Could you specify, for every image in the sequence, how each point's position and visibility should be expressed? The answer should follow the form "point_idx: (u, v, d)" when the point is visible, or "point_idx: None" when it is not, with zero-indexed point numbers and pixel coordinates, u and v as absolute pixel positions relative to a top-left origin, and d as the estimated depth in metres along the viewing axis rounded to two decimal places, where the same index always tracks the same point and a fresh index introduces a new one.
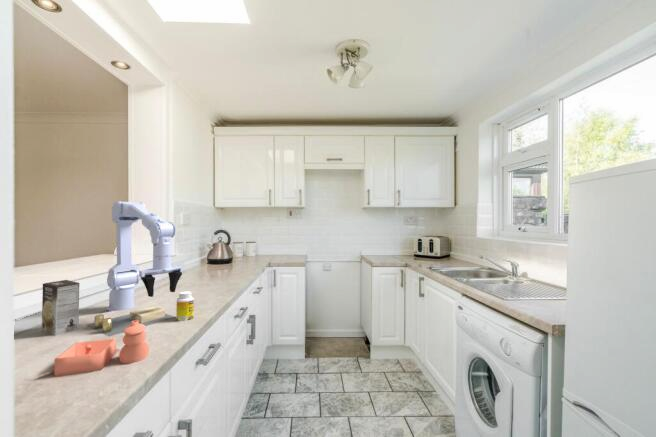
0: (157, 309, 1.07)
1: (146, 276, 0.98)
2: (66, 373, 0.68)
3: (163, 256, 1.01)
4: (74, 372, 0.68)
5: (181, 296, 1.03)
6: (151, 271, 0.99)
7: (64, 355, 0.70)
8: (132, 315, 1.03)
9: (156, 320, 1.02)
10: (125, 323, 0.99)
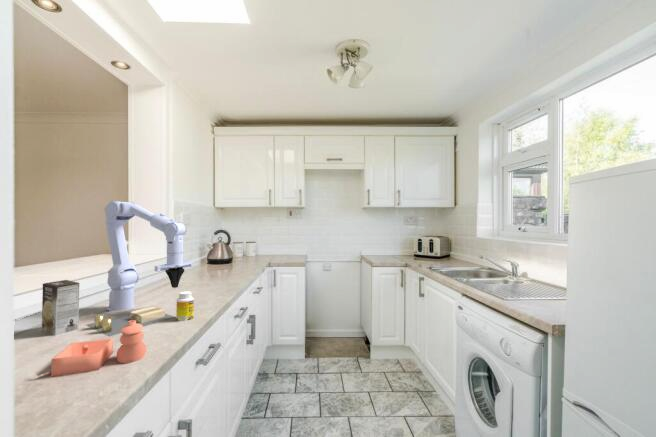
0: (157, 309, 1.07)
1: (170, 269, 1.11)
2: (63, 373, 0.68)
3: (176, 253, 1.12)
4: (71, 372, 0.68)
5: (181, 296, 1.03)
6: (165, 266, 1.09)
7: (61, 355, 0.70)
8: (132, 315, 1.03)
9: (156, 320, 1.02)
10: (125, 323, 0.99)
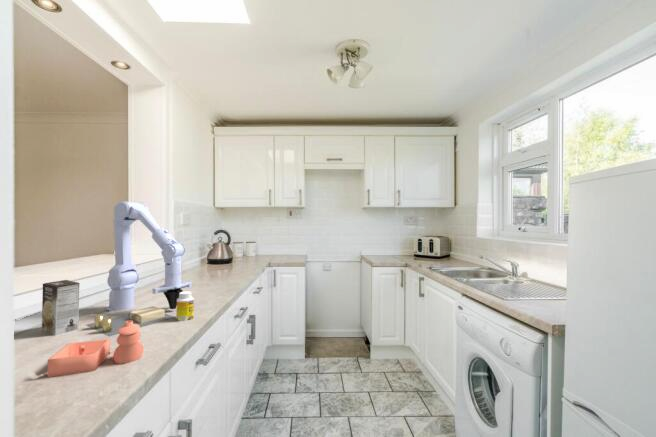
0: (157, 309, 1.07)
1: (168, 291, 1.11)
2: (59, 374, 0.67)
3: (174, 274, 1.11)
4: (67, 373, 0.68)
5: (181, 296, 1.03)
6: (163, 288, 1.09)
7: (57, 356, 0.70)
8: (132, 315, 1.03)
9: (156, 320, 1.02)
10: None
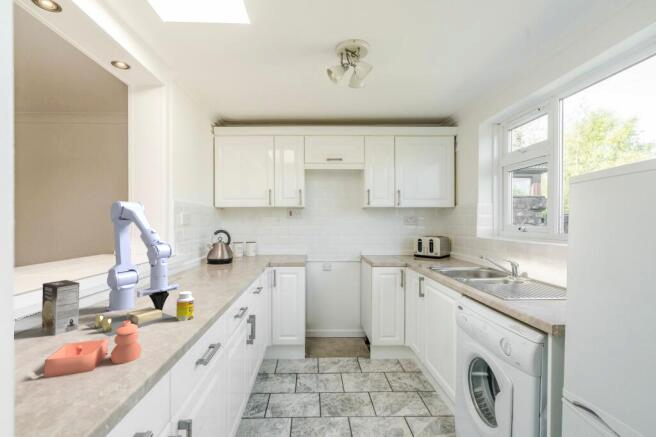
0: (154, 310, 1.06)
1: (154, 294, 1.06)
2: (57, 374, 0.67)
3: (160, 276, 1.06)
4: (65, 373, 0.68)
5: (181, 296, 1.03)
6: (148, 291, 1.04)
7: (54, 356, 0.70)
8: (129, 316, 1.02)
9: (156, 320, 1.02)
10: None
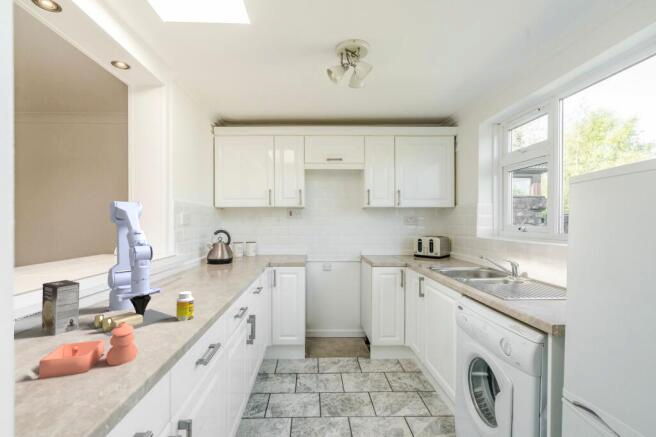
0: (135, 315, 1.00)
1: (135, 298, 1.01)
2: (51, 375, 0.67)
3: (141, 279, 1.01)
4: (59, 374, 0.67)
5: (181, 296, 1.03)
6: (128, 295, 0.98)
7: (50, 357, 0.69)
8: None
9: (156, 320, 1.02)
10: None
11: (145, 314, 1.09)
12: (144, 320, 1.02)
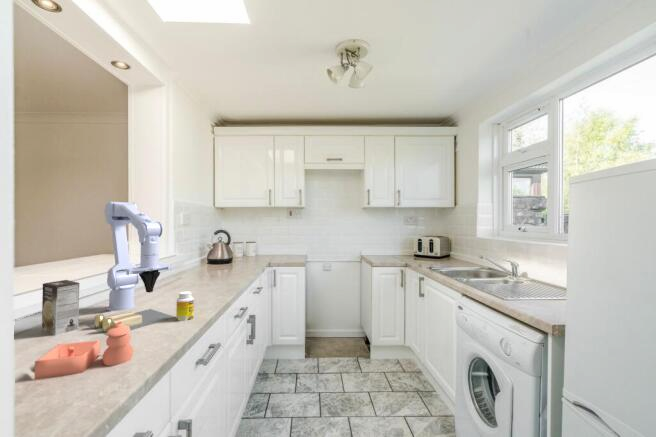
0: (134, 315, 1.00)
1: (144, 273, 1.03)
2: (47, 376, 0.67)
3: (150, 255, 1.04)
4: (55, 375, 0.67)
5: (181, 296, 1.03)
6: (138, 269, 1.01)
7: (45, 357, 0.69)
8: None
9: (156, 320, 1.02)
10: None
11: (145, 314, 1.09)
12: (144, 320, 1.02)
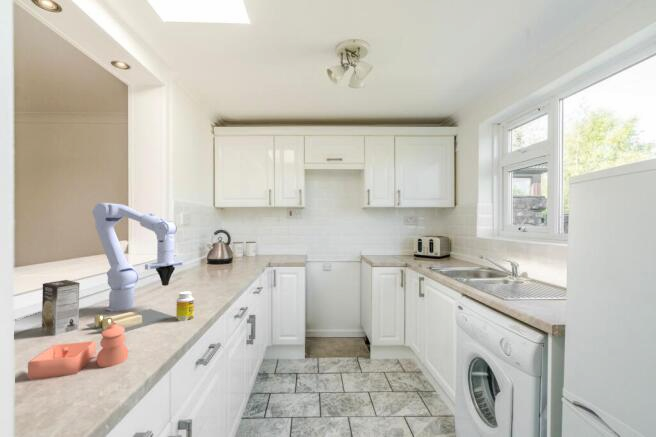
0: (134, 315, 1.00)
1: (161, 268, 1.13)
2: (40, 377, 0.66)
3: (166, 251, 1.13)
4: (48, 376, 0.67)
5: (181, 296, 1.03)
6: (156, 264, 1.11)
7: (39, 358, 0.69)
8: None
9: (156, 320, 1.02)
10: None
11: (145, 314, 1.09)
12: (144, 320, 1.02)
